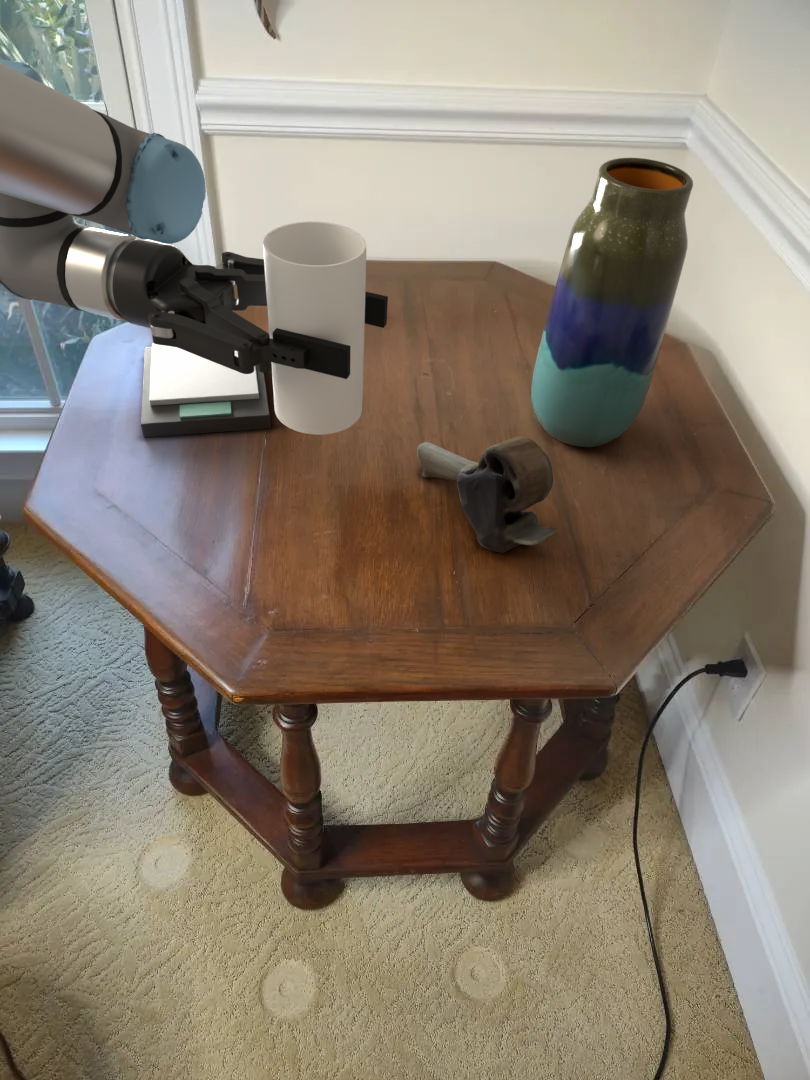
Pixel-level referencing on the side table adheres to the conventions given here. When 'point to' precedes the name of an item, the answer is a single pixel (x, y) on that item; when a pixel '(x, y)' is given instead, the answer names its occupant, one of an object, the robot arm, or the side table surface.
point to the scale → (199, 395)
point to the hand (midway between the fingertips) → (367, 336)
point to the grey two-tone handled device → (497, 489)
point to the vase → (612, 302)
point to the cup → (317, 319)
